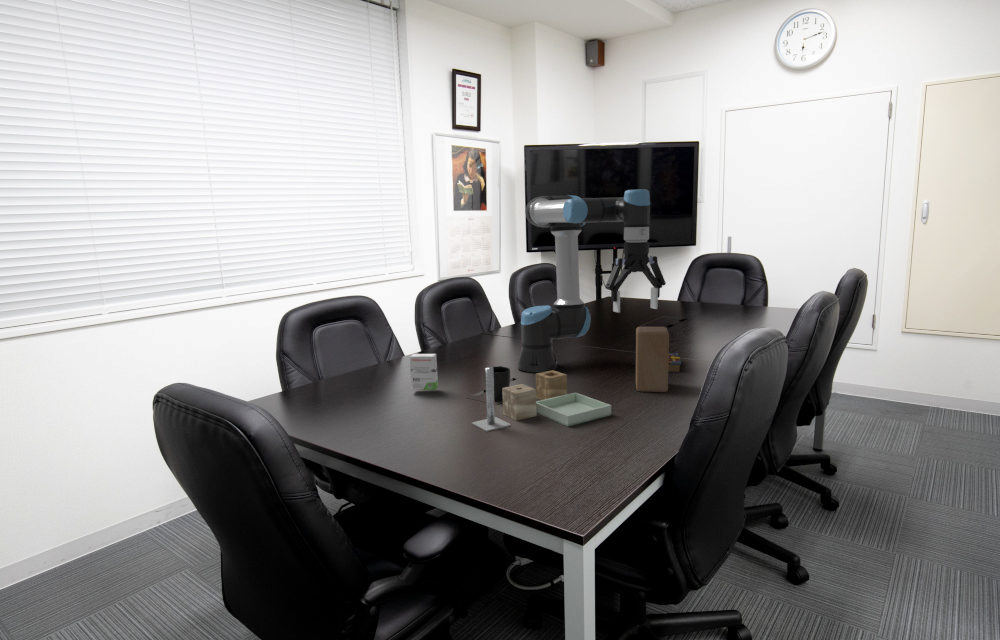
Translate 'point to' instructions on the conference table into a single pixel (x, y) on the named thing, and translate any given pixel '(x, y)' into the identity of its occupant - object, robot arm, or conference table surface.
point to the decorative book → (674, 362)
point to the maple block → (519, 402)
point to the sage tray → (572, 409)
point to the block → (652, 359)
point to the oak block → (550, 384)
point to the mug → (500, 381)
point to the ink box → (423, 372)
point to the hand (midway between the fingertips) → (635, 310)
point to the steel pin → (490, 395)
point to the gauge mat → (498, 424)
